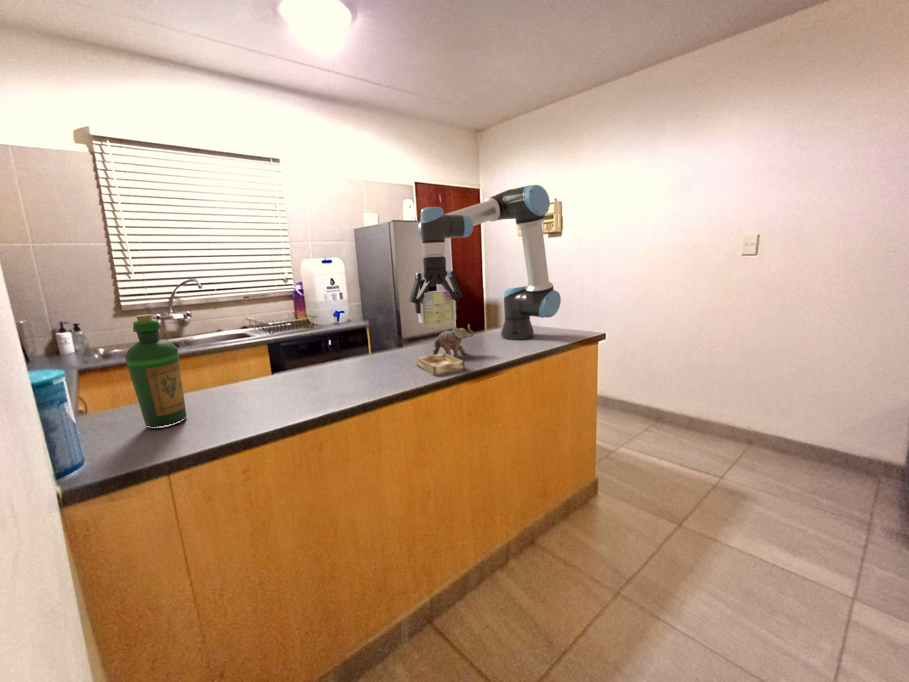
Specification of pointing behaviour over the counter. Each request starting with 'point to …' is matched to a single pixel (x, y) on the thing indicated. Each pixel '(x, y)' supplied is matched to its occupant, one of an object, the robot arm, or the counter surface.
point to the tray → (440, 364)
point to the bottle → (156, 374)
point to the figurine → (452, 341)
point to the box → (437, 309)
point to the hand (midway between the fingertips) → (437, 320)
